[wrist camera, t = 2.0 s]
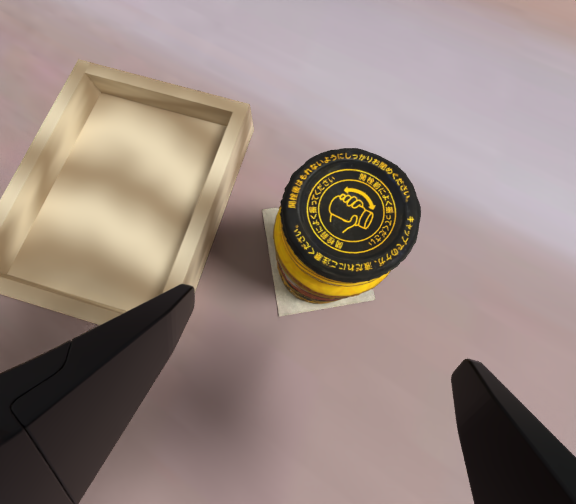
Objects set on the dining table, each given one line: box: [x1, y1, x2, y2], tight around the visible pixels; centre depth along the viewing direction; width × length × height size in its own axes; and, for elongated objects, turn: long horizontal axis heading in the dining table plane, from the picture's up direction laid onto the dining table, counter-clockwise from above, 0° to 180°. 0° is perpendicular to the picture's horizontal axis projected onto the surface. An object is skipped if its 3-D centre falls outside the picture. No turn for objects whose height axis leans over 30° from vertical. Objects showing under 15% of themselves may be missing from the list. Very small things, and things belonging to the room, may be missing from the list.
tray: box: [0, 59, 254, 325], centre depth 21 cm, size 18×14×3 cm
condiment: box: [262, 148, 421, 317], centre depth 16 cm, size 7×8×12 cm
